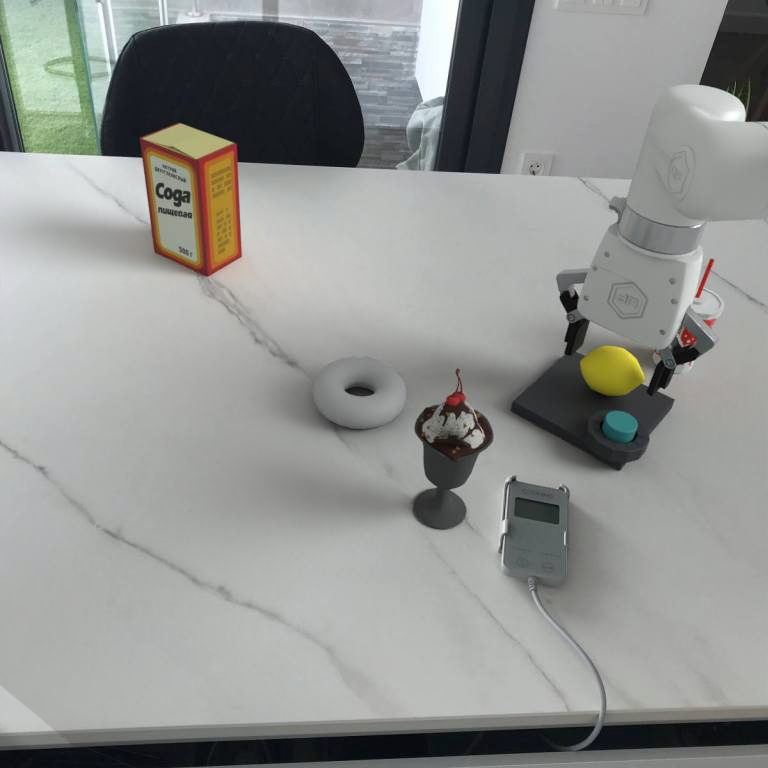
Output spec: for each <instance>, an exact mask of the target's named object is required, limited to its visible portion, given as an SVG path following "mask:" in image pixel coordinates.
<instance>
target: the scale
mask: <svg viewBox="0 0 768 768" xmlns="http://www.w3.org/2000/svg"><path fill="white" fill-rule="evenodd" d="M585 356H586V355H585V354H582V353H580V352H578V351H576V352H575V353H574V354H572V355H570V356H568V355H566V354H563V355H561V357H560V358H559V359H558V360H557V361H556V362H555V363H553V364H552V365H551V366H550V367H549V368H548V369H547V370H546V371H545V372H543V373H542V374H541V375H540V376H539V377H538V378H537V379H536V380H534V381H533V382H532V383H531V384H530V385H529V386H528V387H527V388H525V389H524V390H523V391H522V392H521V393H520V394H519V395H518V396H517V397H516V398H514V399H513V400H512V402H511V406H510V412H511V413H514V414H516V415H517V416H519V417H521V418H523V419H524V420H527V422H529V423H532V424H533V425H536V426H537V427H539V428H541V429H543V430H544V431H547V432H548V433H550V434H552V435H554V436H555V437H557V438H559V439H561V440H563V441H565V442H567V443H569V444H570V445H572V446H574V447H576V448H577V449H579V450H581V451H583V452H585V453H586V454H588V455H590V456H592V457H594V458H595V459H597V460H600V461H601V462H603V463H605V464H607V465H608V466H611V467H612V468H614V469H615V470H618V471H621V470H622V469H623V468H624V467H625V465H626V464H627V463H631V462H636V461H639V460H640V459H641V458H642V456H643V455H644V454H645V453H646V451H647V448H648V446H649V443H650V441H651V440H650V439H651V438H650V435H651V434H652V433H653V432H654V431H655V430H656V428H657V427H658V425H660V423H661V422H662V421H663V419H664V418H665V417H667V415H668V414H669V413H670V411H671V410H672V408H673V405H674V403H675V401H676V399H674V398H673V397H670V396H669V395H667V394H664V393H662V392H661V391H659V390H658V391H657V392H656V393H655V394H654V395H653V396H650V395H648V393H647V389H648V386H649V385H646V384H645V383H642V384H641V385H639V386H638V387H636V388H635V389H633V390H632V391H630V392H629V393H627V394H626V395H619V396H606V395H604V394H602V393H600V392H597V391H595V390H593V389H591V388H590V387H589V385H588V384H587V382H586V381H585V379H584V377H583V375H582V371H581V367H580V361H581V360H582V359H583V358H584V357H585ZM612 411H622V412H626V413H628V414H630V415H631V416H633V417H634V418H635V419H636V421H637V423H638V427H637V430H636V432H635V435H634V437H633V439H632V440H631V441H630V442H628V443H620V442H614V441H612V440H610V439H609V438H607V437H606V436H605V435H604V434H603V432H602V426H603V423H604V420H605V417H606V415H607V414H608V413H609V412H612Z"/></svg>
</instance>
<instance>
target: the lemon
mask: <svg viewBox="0 0 768 768" xmlns="http://www.w3.org/2000/svg"><path fill="white" fill-rule="evenodd" d="M584 356H585V357H584V358H583V359H582V360H581V361H580V367H581V371H582V375H583V377H584V379H585V381H586V382H587V384H588V385H589V387H590V388H591V389H593V390H595V391H597V392H600V393H602V394H604V395H606V396H619V395H626V394H627V393H629V392H630V391H632V390H633V389H635V388H636V387H638V386H639V385H641V384H644V383H645V381H646V376H645V374H644V372H643V370H642V367H641V364H640V363H639V361H638V359H637V358H636V357H635V356H634V355H633V354H632V353H630V352H629V351H628V350H627V349H625V348H624V347H621V346H620V347H619V346H614V345H602V346H599V347H596V348H595V349H592V350H591V351H589V352H588V353H587V354H586V355H584Z"/></svg>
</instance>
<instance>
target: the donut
mask: <svg viewBox="0 0 768 768" xmlns="http://www.w3.org/2000/svg"><path fill="white" fill-rule="evenodd" d="M353 388H363V389H368V390H369V391H372V392H373V393H372V394H370V395H366V396H365V395H363V396H361V395H354V394H350V393H348V392H347V390H348V389H353ZM311 392H312V394H311V396H312V399H313V402H314V404H315V407H316V409H317V410H318V412H320V413H321V415H322V416H324V417H325V418H326V419H327V420H328V421H330V422H332V423H334V424H336V425H338V426H341V427H345V428H349V429H353V430H355V429H356V430H368V429H373V428H378V427H382V426H384V425H386V424H388V423H390V422H392V421H394V419H395V418H396V417H398V416H399V414H401V412H402V411H403V409H404V406H405V405H406V402H407V399H408V396H407V385H406V383H405V381H404V379H403V377H402V376H401V374H400V372H398V371H397V369H395V368H393V367H392V365H390V364H388V363H386V362H384V361H382V360H380V359H378V358H373V357H368V356H347V357H340V358H339V359H336V360H334V361H332V362H329V363H328V364H326V365H325V366H324V367H323V368H321V369H320V370H319V372H318V373H317V375H316V376H315V378H314V380H313V383H312V391H311Z"/></svg>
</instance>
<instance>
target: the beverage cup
mask: <svg viewBox="0 0 768 768" xmlns="http://www.w3.org/2000/svg"><path fill="white" fill-rule="evenodd" d="M714 262H715V259H714V258H709V261H708V263H707V265H706V268H705V271H704V273H703V276H702V279H701V281H700V283H699V285H697V289H696V293H695V296H694V300H693V303H692V307H691V308H692V309H693V310H694V311H695V312H696V313H697V314H698V316H699V317H700V318H701V319H702V320H703V321H704V322H705V323H706V324H707V325H708V326H709V327H710V328H711V329H713V326H714V324H715V322H716V321H717V318H719V317H720V316H722V312H724V310H725V305H726V303H725V302H724V300H723V298H722V297H721V296H720V295H719V294H717V293H716V292H715V291H713V290H711V289H709V288H707V287H705V286H706V283H707V280H708V277H709V275H710V272H711V271H712V268H713V266H714ZM679 336H680V338H681V341H682V343H683V346H687V345H690V344H694V343H696V342H697V341H696V339H695V337H694V336H693V335H692V334H691V333H690V332H689V331H688V330H687V329H686V328H685V327H684V328H683V329H682V331H681V332H680V333H679ZM653 350H654V351H653V354H652V361H653V363H654V364H655V365H656V366H657V364H658V363H659V362H660V361H661V360H662V358H661V356H660V354H659V351H658V350H656V349H653ZM695 362H696V360H694V361H691V362H688V363H684V364H681V365H677V366H676V369H675V371H674V374H679V375H680V374H685V373H688V372H690V370H691V369H692V367H693V366H694V363H695Z"/></svg>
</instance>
